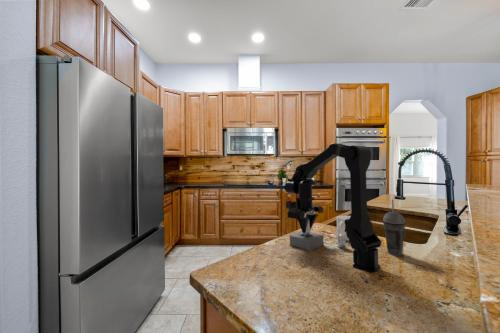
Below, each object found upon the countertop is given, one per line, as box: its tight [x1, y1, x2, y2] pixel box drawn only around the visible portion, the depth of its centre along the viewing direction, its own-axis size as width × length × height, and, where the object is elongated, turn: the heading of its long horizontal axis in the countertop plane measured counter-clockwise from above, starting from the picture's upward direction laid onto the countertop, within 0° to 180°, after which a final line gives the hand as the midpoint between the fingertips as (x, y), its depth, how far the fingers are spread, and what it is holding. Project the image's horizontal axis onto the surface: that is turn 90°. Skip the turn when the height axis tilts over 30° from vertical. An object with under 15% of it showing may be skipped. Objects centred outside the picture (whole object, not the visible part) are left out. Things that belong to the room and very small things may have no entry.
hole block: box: [289, 230, 324, 252], centre depth 97 cm, size 10×10×4 cm
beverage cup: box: [382, 198, 406, 257], centre depth 85 cm, size 7×7×20 cm
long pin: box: [303, 219, 311, 238], centre depth 97 cm, size 3×3×10 cm
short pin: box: [337, 234, 347, 250], centre depth 93 cm, size 3×3×5 cm
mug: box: [336, 215, 351, 242], centre depth 104 cm, size 12×9×9 cm
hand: (306, 231), depth 97 cm, fingers open, 3 cm apart
